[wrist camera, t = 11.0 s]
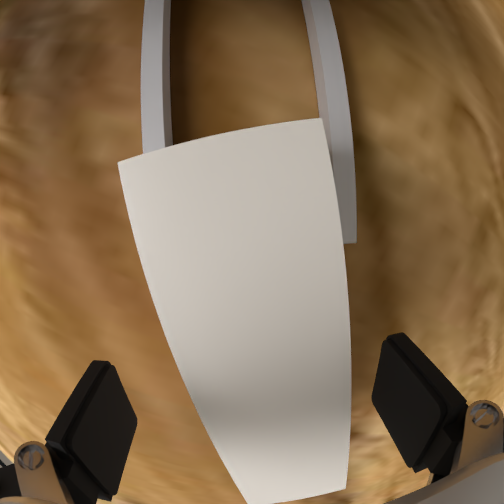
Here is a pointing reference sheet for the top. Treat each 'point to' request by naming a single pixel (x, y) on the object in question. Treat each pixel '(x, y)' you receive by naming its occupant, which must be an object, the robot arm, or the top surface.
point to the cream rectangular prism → (253, 298)
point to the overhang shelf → (327, 88)
